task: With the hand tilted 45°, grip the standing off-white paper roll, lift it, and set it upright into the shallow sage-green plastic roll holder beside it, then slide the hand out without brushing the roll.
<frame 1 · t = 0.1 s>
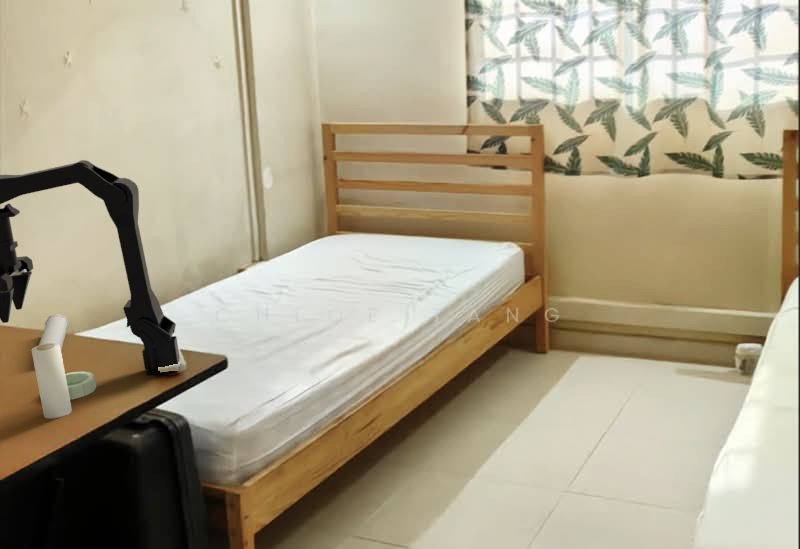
hand: (12, 315, 198), 15 cm above the table, tool pointing down, fingers open, 9 cm apart
holder: (72, 391, 195), on the table
roll: (58, 413, 184), on the table
tube: (54, 351, 223), on the table
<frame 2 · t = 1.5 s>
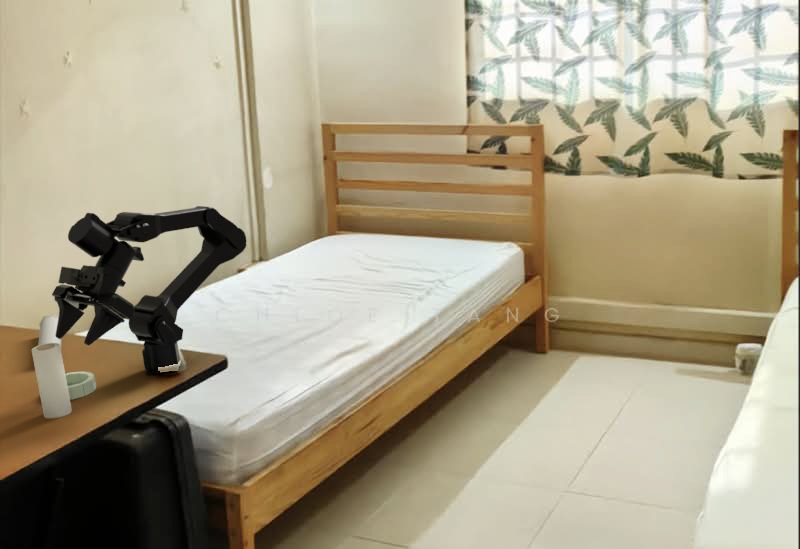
hand: (71, 341, 185), 12 cm above the table, tool tilted 45°, fingers open, 9 cm apart
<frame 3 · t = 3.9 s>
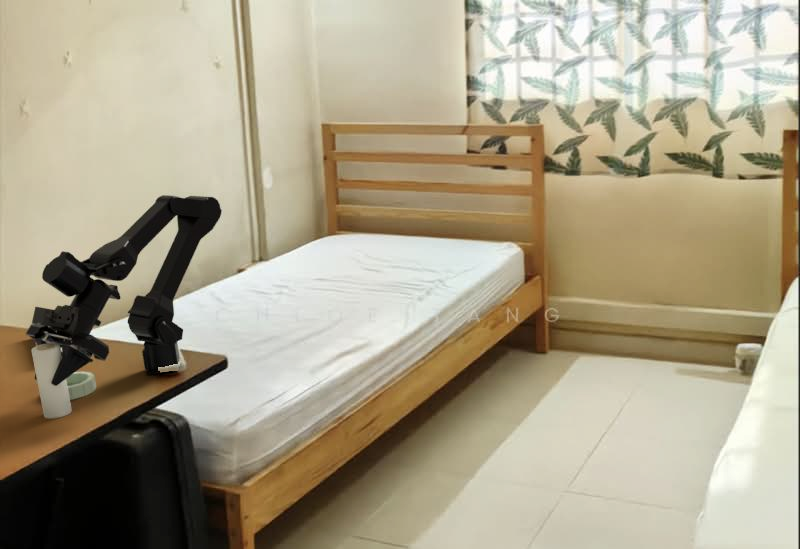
hand: (45, 382, 182), 7 cm above the table, tool tilted 45°, fingers closed on roll, 5 cm apart
roll: (58, 413, 184), on the table, touching gripper
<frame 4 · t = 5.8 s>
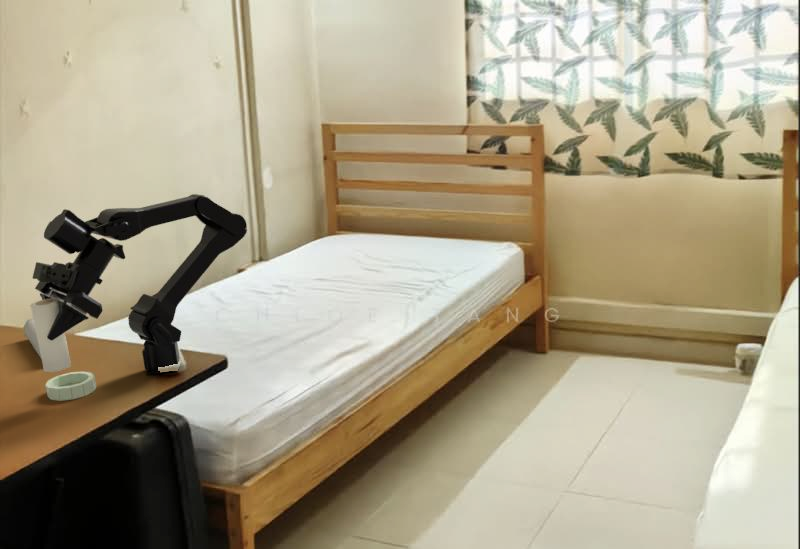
hand: (43, 336, 186), 13 cm above the table, tool tilted 45°, fingers closed on roll, 5 cm apart
roll: (57, 367, 189), point 7 cm above the table, touching gripper
when the fingers open (9 cm above the table, at t = 7.7 s): roll drops 2 cm, resting on holder.
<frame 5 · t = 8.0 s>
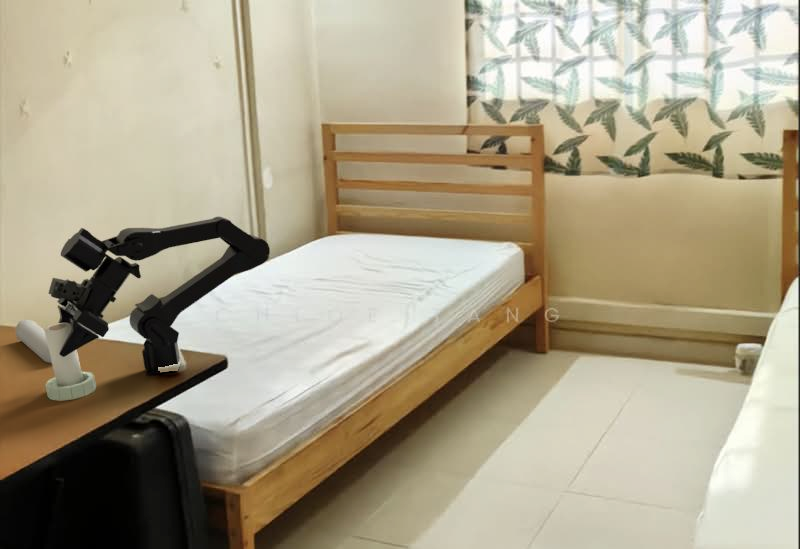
hand: (56, 350, 192), 9 cm above the table, tool tilted 45°, fingers open, 8 cm apart
roll: (71, 388, 195), point 1 cm above the table, touching holder
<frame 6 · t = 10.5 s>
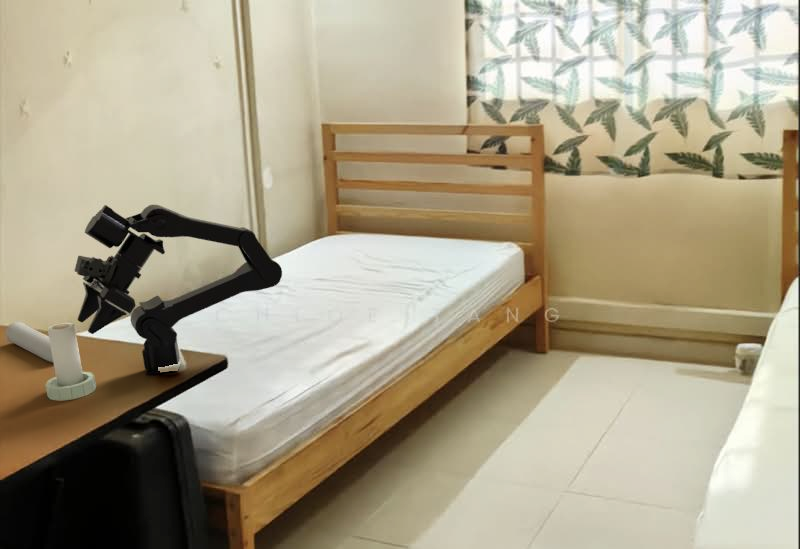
hand: (84, 326, 194), 12 cm above the table, tool tilted 45°, fingers open, 9 cm apart
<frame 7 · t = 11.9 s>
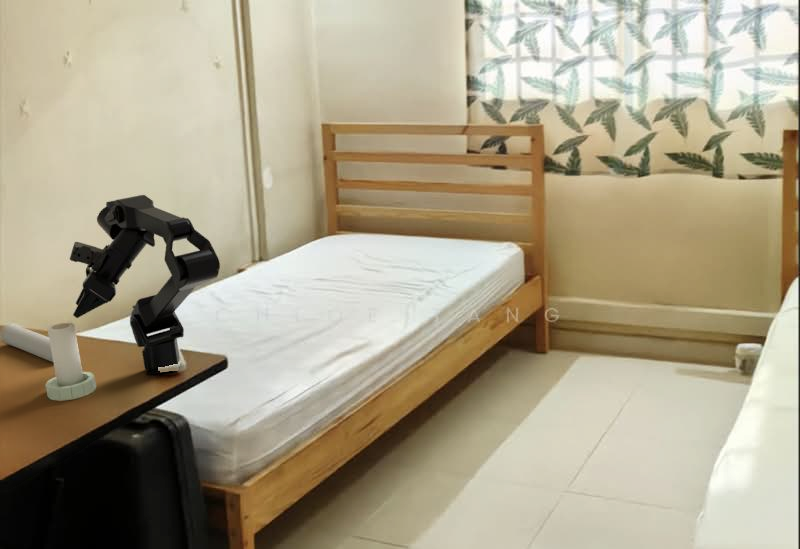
hand: (76, 310, 202), 14 cm above the table, tool tilted 45°, fingers open, 9 cm apart
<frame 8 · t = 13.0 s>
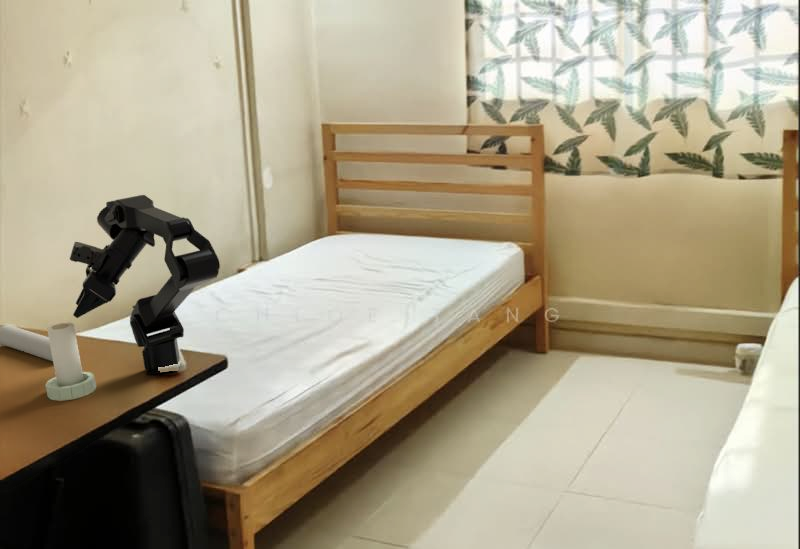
hand: (76, 310, 202), 14 cm above the table, tool tilted 45°, fingers open, 9 cm apart
at the end: roll 0.1 cm off-centre on the holder, point 0.5 cm above the holder's base; roll tilted 0°; the gripper is holding nothing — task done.
